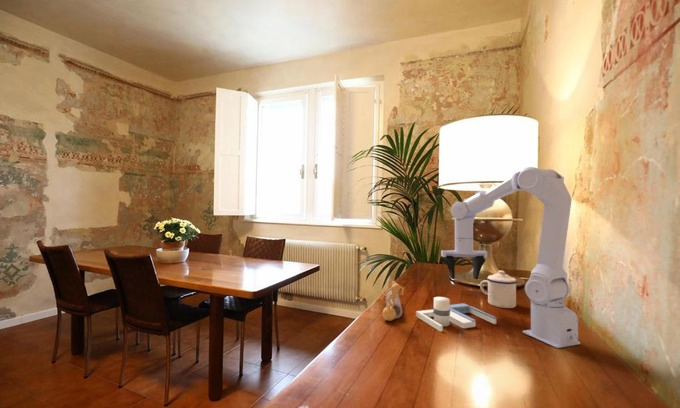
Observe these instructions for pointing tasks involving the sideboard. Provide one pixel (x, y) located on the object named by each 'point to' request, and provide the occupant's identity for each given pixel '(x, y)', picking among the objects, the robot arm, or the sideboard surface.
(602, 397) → the sideboard surface
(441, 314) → the banded white cylinder
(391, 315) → the figurine
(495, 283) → the teacup with lid
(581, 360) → the sideboard surface
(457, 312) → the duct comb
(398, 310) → the coil
